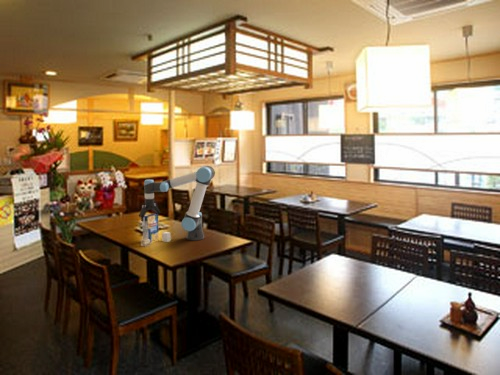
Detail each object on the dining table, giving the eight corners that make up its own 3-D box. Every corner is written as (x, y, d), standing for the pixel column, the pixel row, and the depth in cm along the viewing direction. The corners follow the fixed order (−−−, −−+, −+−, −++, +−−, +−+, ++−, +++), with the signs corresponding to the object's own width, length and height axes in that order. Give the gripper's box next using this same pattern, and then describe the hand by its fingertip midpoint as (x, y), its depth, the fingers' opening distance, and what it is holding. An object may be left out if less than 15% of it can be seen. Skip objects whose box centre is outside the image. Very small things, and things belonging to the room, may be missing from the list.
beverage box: (143, 242, 304) (142, 216, 301) (153, 239, 313) (152, 213, 310) (148, 243, 300) (147, 216, 297) (158, 240, 309) (158, 214, 306)
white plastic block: (170, 240, 308) (170, 232, 308) (167, 242, 304) (167, 233, 303) (165, 239, 310) (165, 231, 309) (162, 241, 306) (162, 233, 305)
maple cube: (150, 245, 294) (150, 239, 293) (145, 246, 290) (144, 240, 289) (146, 244, 297) (146, 238, 296) (141, 245, 293) (140, 239, 292)
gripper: (158, 196, 314) (158, 220, 317) (133, 199, 294) (134, 225, 297) (164, 196, 310) (164, 221, 312) (139, 200, 290) (140, 226, 292)
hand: (150, 223), depth 305 cm, fingers open, 13 cm apart
